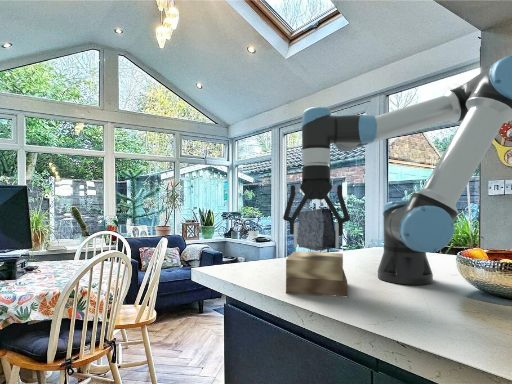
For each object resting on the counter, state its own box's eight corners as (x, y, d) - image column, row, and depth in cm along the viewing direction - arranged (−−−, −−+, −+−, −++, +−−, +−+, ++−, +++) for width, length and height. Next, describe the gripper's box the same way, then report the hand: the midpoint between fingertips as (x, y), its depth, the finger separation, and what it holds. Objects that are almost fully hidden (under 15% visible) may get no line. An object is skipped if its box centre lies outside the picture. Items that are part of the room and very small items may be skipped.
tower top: (342, 269, 99) (342, 253, 99) (342, 280, 85) (342, 262, 85) (293, 266, 102) (293, 251, 102) (286, 277, 88) (286, 259, 89)
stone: (342, 255, 93) (328, 248, 85) (309, 259, 98) (292, 252, 91) (339, 213, 98) (325, 202, 90) (307, 218, 103) (291, 209, 95)
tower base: (343, 284, 99) (343, 268, 99) (347, 299, 85) (347, 281, 85) (290, 282, 102) (290, 266, 102) (285, 296, 87) (286, 278, 87)
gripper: (358, 166, 96) (358, 246, 95) (275, 167, 100) (275, 244, 100) (361, 163, 89) (361, 250, 88) (272, 164, 93) (272, 247, 92)
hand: (316, 247), depth 94 cm, fingers closed on stone, 10 cm apart
